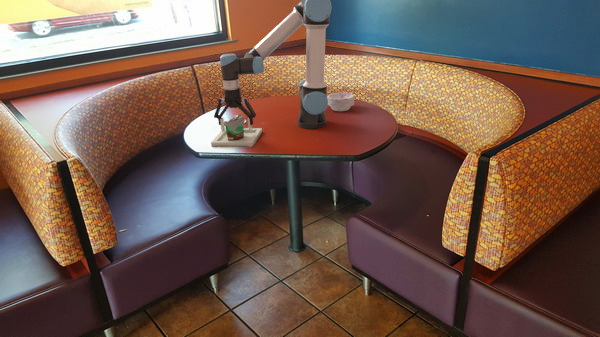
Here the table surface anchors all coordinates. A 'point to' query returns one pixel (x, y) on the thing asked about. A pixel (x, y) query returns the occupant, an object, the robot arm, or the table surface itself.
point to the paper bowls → (340, 101)
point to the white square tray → (244, 142)
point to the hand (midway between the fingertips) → (236, 131)
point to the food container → (235, 128)
